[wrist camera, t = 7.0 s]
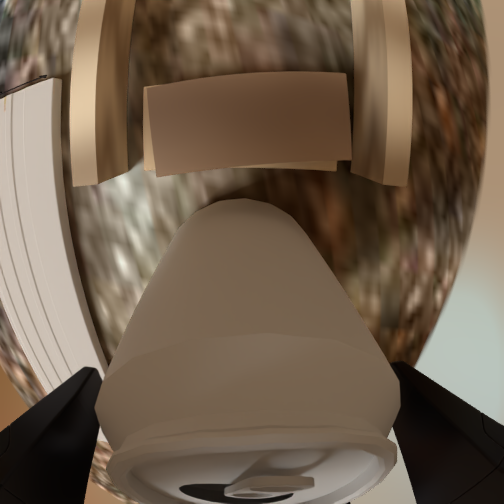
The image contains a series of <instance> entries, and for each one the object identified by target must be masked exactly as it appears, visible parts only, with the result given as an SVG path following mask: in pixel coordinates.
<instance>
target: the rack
mask: <svg viewBox="0 0 504 504" xmlns="http://www.w3.org/2000/svg"><path fill="white" fill-rule="evenodd" d="M350 1H351V13H352V28H353V49H354V119H353V142H352V160H351V173H354V174H357V175H359V176H362V177H365V178H367V179H370V180H372V181H375V182H377V183H380V184H382V185H391V186H400V187H407V182H408V172H409V162H410V150H411V134H412V63H411V47H410V36H409V27H408V18H407V11H406V4H405V0H350ZM135 2H136V0H82V5H81V9H80V14H79V20H78V25H77V32H76V38H75V45H74V54H73V63H72V75H71V91H70V150H71V167H72V179H73V187H75V186H84V185H94V184H99V183H102V182H104V181H106V180H109V179H111V178H114V177H116V176H119V175H121V174H124V173H126V172H128V152H127V87H128V67H129V53H130V42H131V33H132V24H133V16H134V9H135Z"/></svg>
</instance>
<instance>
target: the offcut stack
mask: <svg viewBox="0 0 504 504" xmlns="http://www.w3.org/2000/svg"><path fill="white" fill-rule="evenodd" d="M143 148H144V171H147V170H156V176H157V177H162V176H168V175H175V174H182V173H189V172H196V171H204V170H212V169H220V168H286V169H308V170H325V171H336V168H337V160H352V146H351V126H350V111H349V99H348V88H347V78H346V73H333V72H305V71H286V72H258V73H243V74H231V75H222V76H213V77H205V78H198V79H192V80H186V81H180V82H174V83H169V84H164V85H155V86H147V87H144V94H143Z"/></svg>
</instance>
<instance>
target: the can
mask: <svg viewBox="0 0 504 504" xmlns="http://www.w3.org/2000/svg"><path fill="white" fill-rule="evenodd" d="M400 407H401V405H400V383H399V380H398V378H397V376H396V375H395V373H394V371H393V369H392V368H391V366H390V364H389V363H388V361H387V359H386V357H385V356H384V354H383V352H382V351H381V349H380V347H379V346H378V344H377V342H376V341H375V339H374V337H373V336H372V334H371V332H370V331H369V329H368V327H367V326H366V324H365V323H364V321H363V319H362V318H361V316H360V314H359V313H358V311H357V310H356V308H355V307H354V305H353V303H352V302H351V300H350V299H349V297H348V296H347V294H346V292H345V291H344V289H343V288H342V286H341V285H340V283H339V282H338V280H337V279H336V277H335V275H334V274H333V272H332V271H331V269H330V268H329V266H328V265H327V263H326V262H325V260H324V259H323V257H322V256H321V255H320V253H319V252H318V250H317V249H316V247H315V246H314V244H313V243H312V241H311V240H310V238H309V237H308V236H307V234H306V233H305V232H304V230H303V229H302V228H301V227H300V226H299V224H298V223H297V222H296V221H295V220H294V219H293V217H292V216H290V215H289V214H287V213H285V212H284V211H282V210H280V209H279V208H277V207H275V206H274V205H272V204H270V203H265V202H261V201H256V200H251V199H247V198H242V199H232V200H223V201H218V202H216V203H213V204H211V205H209V206H207V207H205V208H203V209H200V210H198V211H196V212H195V213H194V214H193V215H192V216H191V217H190V218H189V219H188V220H186V221H185V222H184V223H183V224H182V225H181V226H180V227H179V228H178V230H177V232H176V233H175V235H174V237H173V239H172V240H171V242H170V244H169V246H168V248H167V249H166V251H165V253H164V255H163V257H162V259H161V261H160V262H159V264H158V266H157V268H156V270H155V272H154V274H153V276H152V277H151V279H150V281H149V283H148V285H147V287H146V289H145V291H144V293H143V295H142V297H141V299H140V301H139V303H138V305H137V307H136V309H135V311H134V313H133V315H132V317H131V319H130V321H129V324H128V326H127V328H126V330H125V332H124V334H123V336H122V338H121V341H120V343H119V345H118V347H117V349H116V352H115V354H114V356H113V358H112V361H111V363H110V365H109V368H108V370H107V372H106V375H105V377H104V379H103V382H102V385H101V388H100V391H99V394H98V397H97V401H96V404H95V407H94V408H95V411H96V415H97V418H98V421H99V424H100V427H101V430H102V433H103V434H104V436H105V438H106V440H107V441H108V443H109V445H110V446H111V448H112V450H113V451H114V453H113V455H112V456H111V458H110V460H109V462H108V464H107V466H106V470H107V472H108V474H109V476H110V478H111V480H112V482H113V484H114V485H115V486H116V487H117V488H118V489H119V490H120V491H122V492H123V493H124V494H126V495H127V496H128V497H130V498H131V499H132V500H134V501H136V502H138V503H140V504H346V503H348V502H350V501H352V500H354V499H356V498H358V497H360V496H362V495H364V494H365V493H367V492H368V491H369V490H371V489H372V488H374V487H375V486H376V485H378V484H379V483H381V482H382V481H383V480H384V478H385V477H386V476H387V475H388V474H389V472H390V471H391V470H392V469H393V467H394V466H395V464H396V462H397V446H396V444H395V443H393V442H392V441H390V440H389V439H387V437H388V435H389V433H390V430H391V428H392V426H393V424H394V421H395V419H396V416H397V414H398V412H399V409H400Z"/></svg>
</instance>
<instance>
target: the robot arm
mask: <svg viewBox="0 0 504 504" xmlns="http://www.w3.org/2000/svg"><path fill="white" fill-rule="evenodd" d="M390 366H391V368H392V369H393V371H394V373H395V375H396V376H397V378H398V380H399V383H400V405H401V407H400V409H399V412H398V414H397V416H396V419H395V421H394V424H393V426H392V427H393V430H394V432H395V436H396V438H397V441H398V444H399V447H400V450H401V453H402V456H403V459H404V463H405V466H406V469H407V472H408V475H409V479H410V482H411V485H412V489H413V492H414V496H415V499H416V503H417V504H504V426H503V425H501V424H500V423H498V422H496V421H495V420H493V419H491V418H490V417H488V416H487V415H485V414H484V413H481V412H480V411H479V410H477V409H476V408H474V407H473V406H471V405H469V404H468V403H467V402H465V401H463V400H462V399H460V398H459V397H457V396H456V395H454V394H453V393H451V392H450V391H448V390H447V389H445V388H443V387H442V386H440V385H439V384H437V383H436V382H434V381H433V380H431V379H430V378H428V377H427V376H425V375H424V374H422V373H421V372H419V371H418V370H416V369H415V368H413V367H412V366H410V365H409V364H407V363H406V362H404V361H401V360H400V361H395V362H391V363H390ZM102 382H103V380H102V378H101V376H100V374H99V371H98V370H97V369H96V368H94V367H88V366H85V367H83V368H81V369H80V370H79V371H78V372H76V373H75V374H74V375H72V376H71V377H70V378H68V379H67V380H66V381H65V382H63V383H62V384H61V385H59V386H58V387H57V388H56V389H54V390H53V391H52V392H50V393H49V394H48V395H47V396H45V397H44V398H43V399H42V400H40V401H39V402H38V403H36V404H35V405H34V406H33V407H31V408H30V409H29V410H28V411H26V412H25V413H24V414H23V415H21V416H20V417H19V418H17V419H16V420H15V421H14V422H12V423H11V424H10V425H9V426H7V427H6V428H5V429H4V430H2V431H1V432H0V504H84V500H85V494H86V489H87V483H88V478H89V473H90V469H91V464H92V460H93V455H94V451H95V447H96V443H97V439H98V434H99V429H100V424H99V421H98V418H97V415H96V411H95V408H94V407H95V404H96V401H97V397H98V394H99V391H100V388H101V385H102ZM346 504H350V502H348V503H346Z"/></svg>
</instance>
